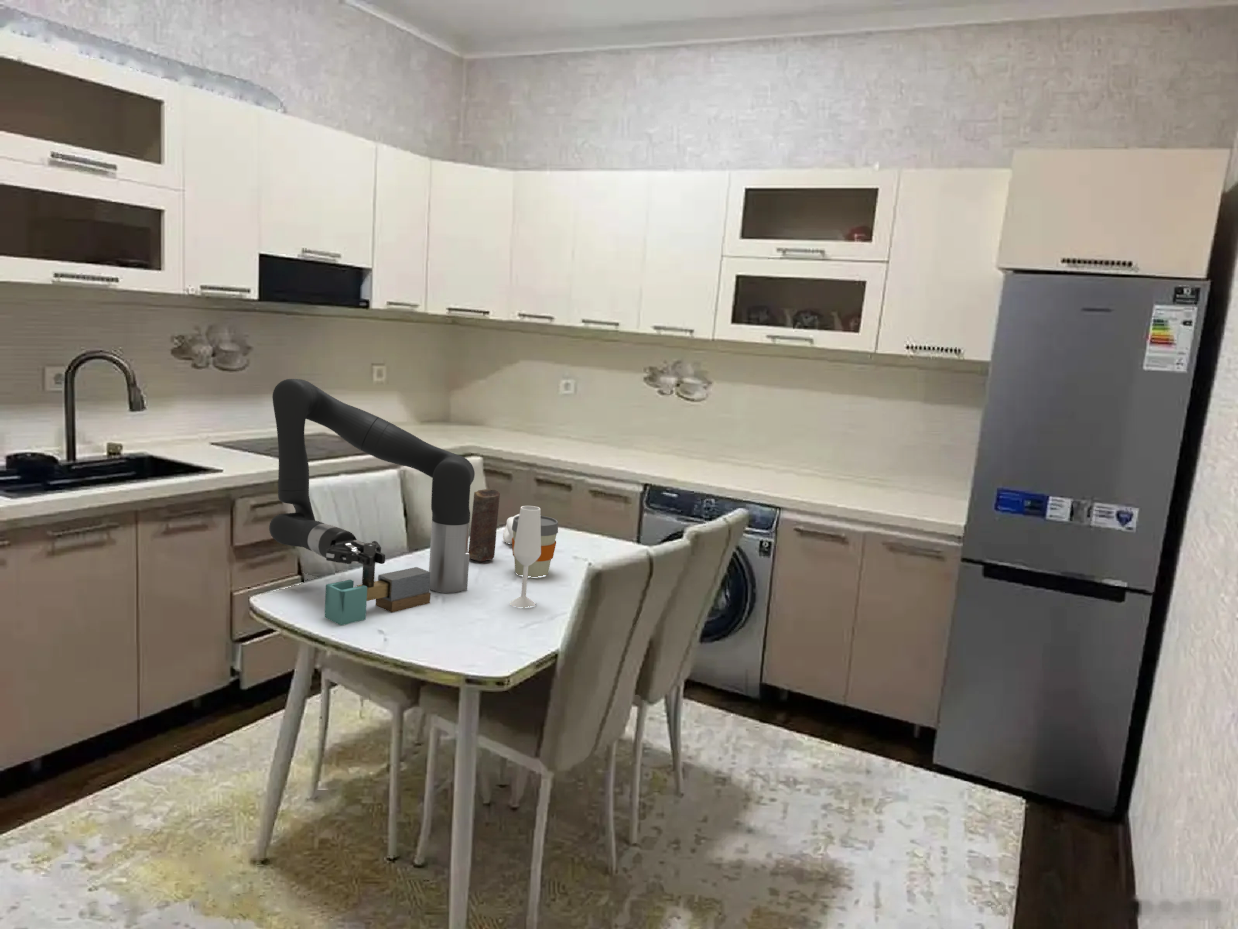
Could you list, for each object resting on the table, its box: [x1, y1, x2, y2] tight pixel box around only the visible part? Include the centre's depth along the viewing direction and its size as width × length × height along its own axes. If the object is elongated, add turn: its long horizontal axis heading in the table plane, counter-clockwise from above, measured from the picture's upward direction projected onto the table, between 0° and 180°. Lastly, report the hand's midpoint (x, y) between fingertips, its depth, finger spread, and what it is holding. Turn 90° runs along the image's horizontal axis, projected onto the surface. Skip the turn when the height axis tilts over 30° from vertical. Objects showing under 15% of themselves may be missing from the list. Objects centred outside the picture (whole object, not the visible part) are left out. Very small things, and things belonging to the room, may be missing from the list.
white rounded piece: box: [502, 513, 520, 545], centre depth 260 cm, size 11×12×9 cm
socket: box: [324, 579, 368, 626], centre depth 187 cm, size 6×6×8 cm
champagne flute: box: [509, 505, 542, 608], centre depth 206 cm, size 7×7×24 cm
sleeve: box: [375, 566, 432, 614], centre depth 199 cm, size 11×6×8 cm, turn 142°
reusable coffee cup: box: [511, 515, 559, 577], centre depth 232 cm, size 13×13×15 cm
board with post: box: [356, 542, 390, 602], centre depth 194 cm, size 14×3×12 cm, turn 142°
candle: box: [468, 488, 501, 563], centre depth 239 cm, size 8×7×20 cm
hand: (377, 560), depth 188 cm, fingers closed on board with post, 2 cm apart
